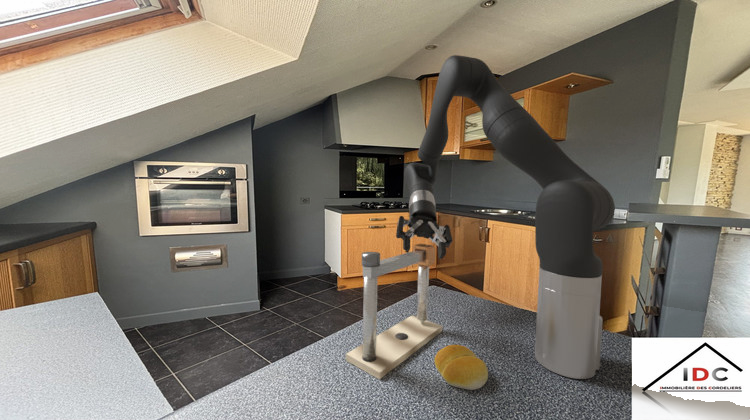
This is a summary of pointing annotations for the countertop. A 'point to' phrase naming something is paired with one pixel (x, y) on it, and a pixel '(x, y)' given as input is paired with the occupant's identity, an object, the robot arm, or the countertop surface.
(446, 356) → the bread roll
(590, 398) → the countertop surface
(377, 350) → the plate
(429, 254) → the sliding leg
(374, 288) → the metal gantry frame
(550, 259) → the robot arm
